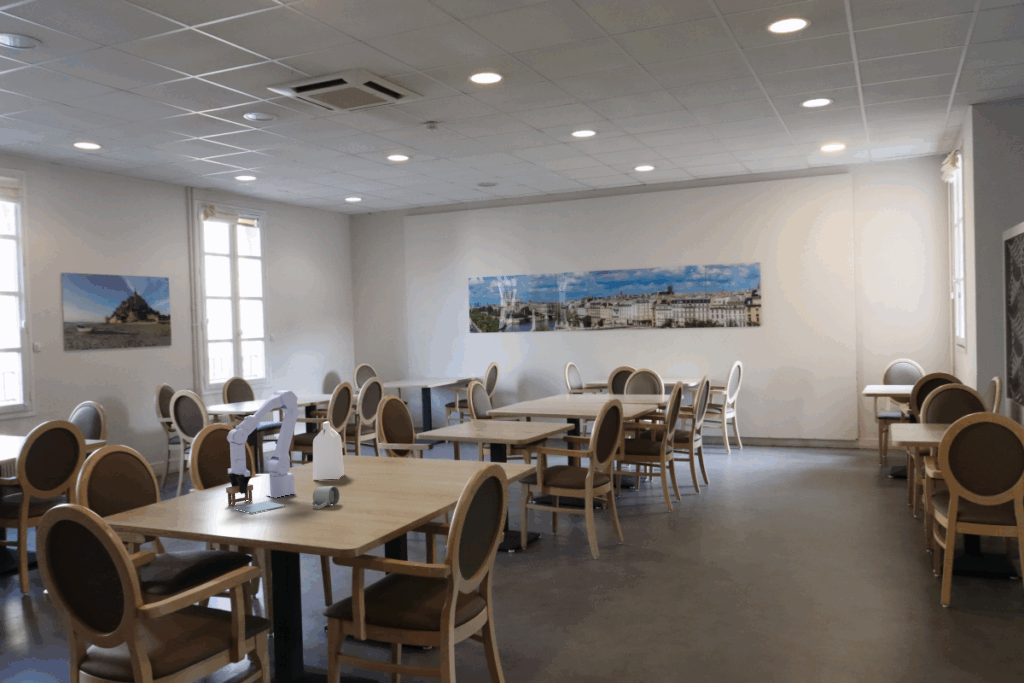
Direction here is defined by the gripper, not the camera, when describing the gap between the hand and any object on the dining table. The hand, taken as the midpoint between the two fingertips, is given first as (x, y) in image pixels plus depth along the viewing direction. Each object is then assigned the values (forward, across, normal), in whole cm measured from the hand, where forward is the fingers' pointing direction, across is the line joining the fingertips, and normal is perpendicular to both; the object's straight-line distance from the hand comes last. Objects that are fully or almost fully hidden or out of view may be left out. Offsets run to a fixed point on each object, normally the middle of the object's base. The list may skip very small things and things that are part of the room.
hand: (239, 492), depth 309 cm
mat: (+4, +15, 0) cm, 16 cm away
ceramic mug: (+5, +35, +16) cm, 39 cm away
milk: (+5, -15, +52) cm, 54 cm away
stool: (+4, 0, 0) cm, 4 cm away
